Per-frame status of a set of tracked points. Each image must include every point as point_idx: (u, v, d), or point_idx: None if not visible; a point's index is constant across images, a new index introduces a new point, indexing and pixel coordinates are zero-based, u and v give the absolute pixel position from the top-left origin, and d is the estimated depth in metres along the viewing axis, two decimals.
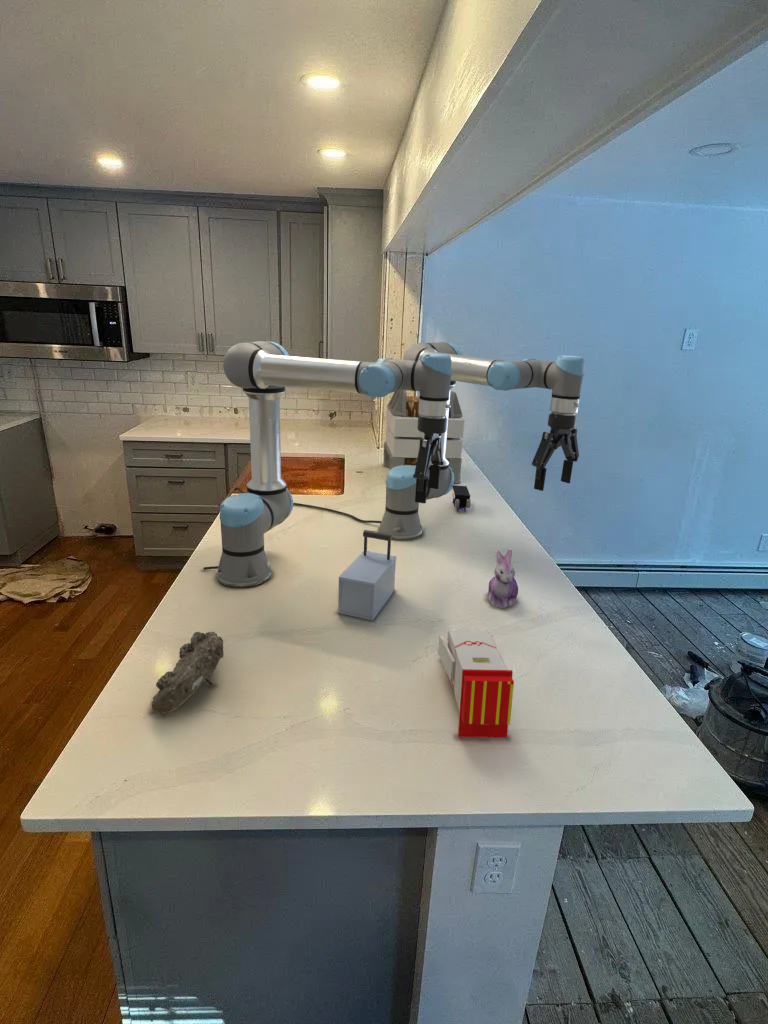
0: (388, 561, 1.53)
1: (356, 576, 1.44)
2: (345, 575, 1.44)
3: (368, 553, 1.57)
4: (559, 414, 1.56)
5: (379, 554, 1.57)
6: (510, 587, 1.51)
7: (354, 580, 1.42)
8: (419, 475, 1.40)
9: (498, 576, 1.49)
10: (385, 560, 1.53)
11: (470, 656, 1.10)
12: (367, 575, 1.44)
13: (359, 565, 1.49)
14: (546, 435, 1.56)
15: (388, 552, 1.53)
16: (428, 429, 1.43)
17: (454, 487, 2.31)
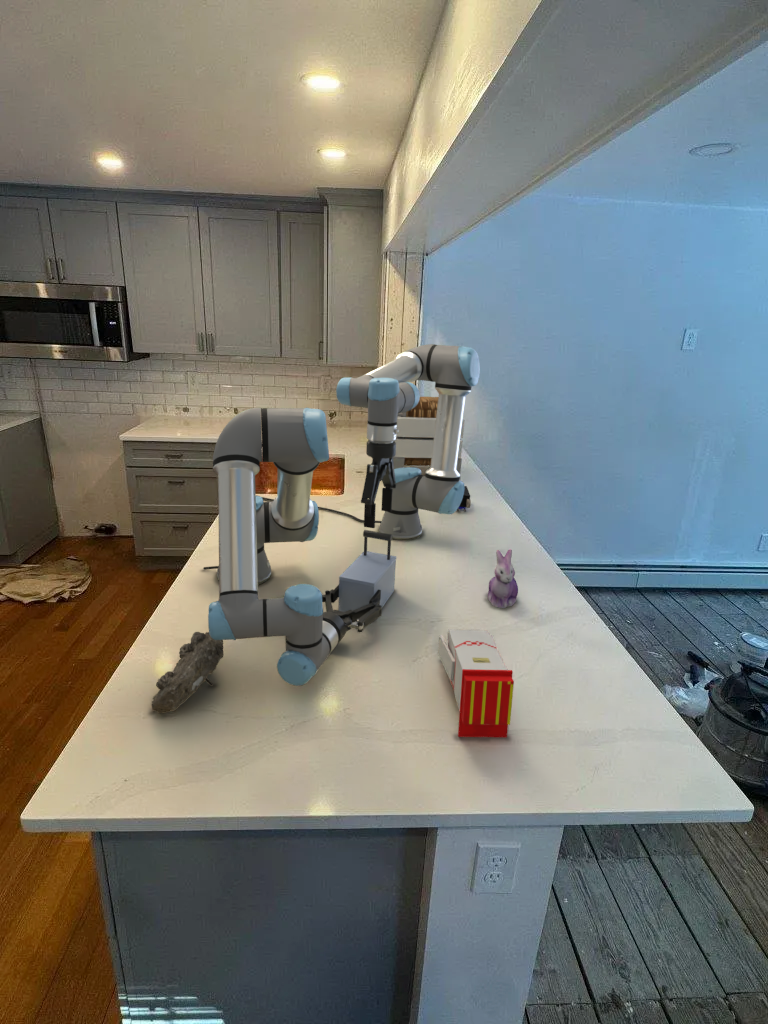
0: (388, 561, 1.53)
1: (356, 576, 1.44)
2: (345, 575, 1.44)
3: (368, 553, 1.57)
4: (380, 443, 1.41)
5: (379, 554, 1.57)
6: (510, 587, 1.51)
7: (354, 580, 1.42)
8: None
9: (498, 576, 1.49)
10: (385, 560, 1.53)
11: (470, 656, 1.10)
12: (367, 575, 1.44)
13: (359, 565, 1.49)
14: (371, 468, 1.40)
15: (388, 552, 1.53)
16: None
17: None
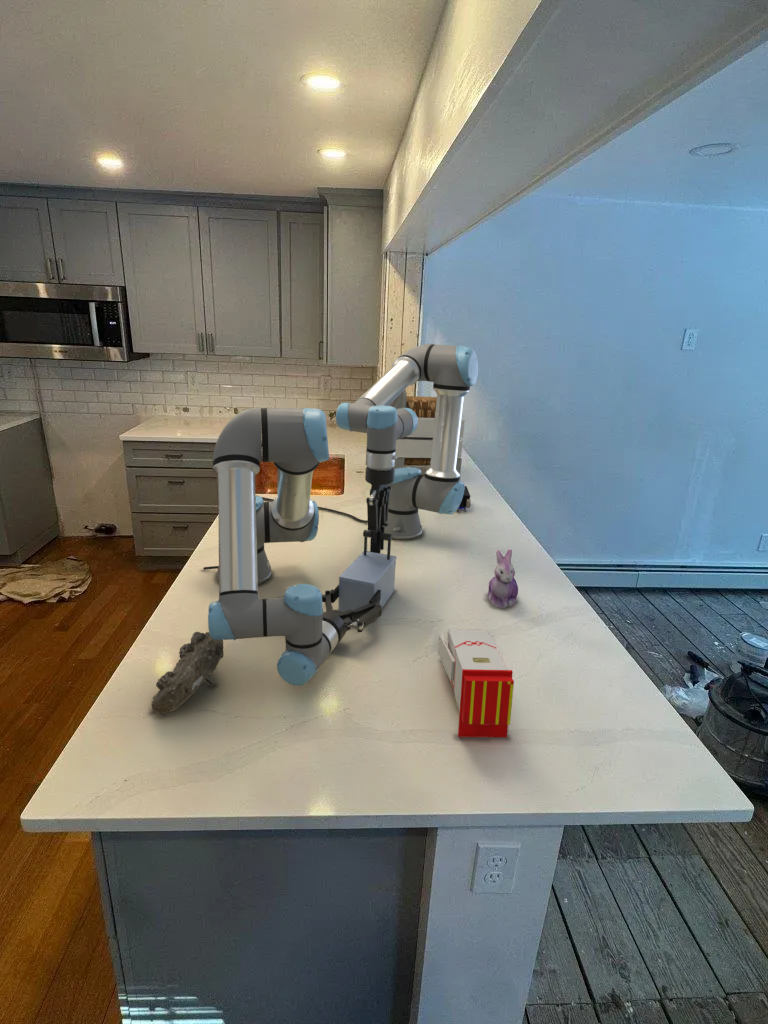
0: (388, 561, 1.53)
1: (356, 576, 1.44)
2: (345, 575, 1.44)
3: (368, 553, 1.57)
4: (379, 470, 1.43)
5: (379, 554, 1.57)
6: (510, 587, 1.51)
7: (354, 580, 1.42)
8: None
9: (498, 576, 1.49)
10: (385, 560, 1.53)
11: (470, 656, 1.10)
12: (367, 575, 1.44)
13: (359, 565, 1.49)
14: (371, 502, 1.43)
15: (388, 552, 1.53)
16: None
17: None
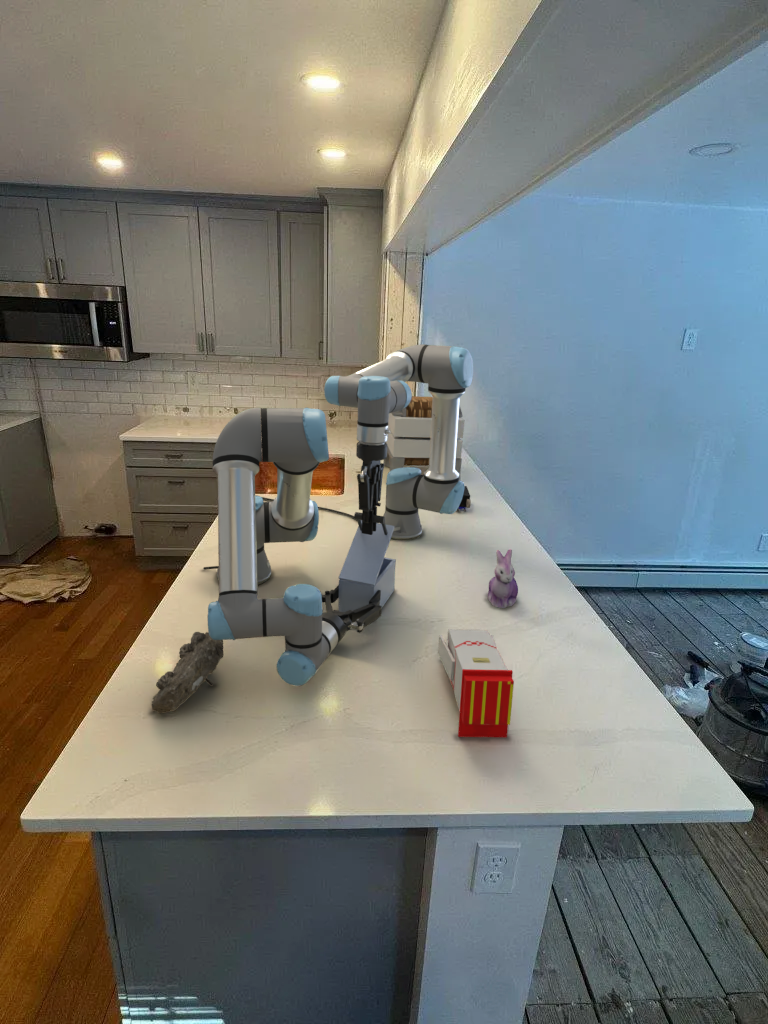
0: (386, 538, 1.47)
1: (355, 574, 1.43)
2: (344, 573, 1.43)
3: None
4: (370, 444, 1.34)
5: (376, 525, 1.50)
6: (510, 587, 1.51)
7: (354, 581, 1.42)
8: None
9: (498, 576, 1.49)
10: (383, 536, 1.48)
11: (470, 656, 1.10)
12: (366, 570, 1.43)
13: (357, 553, 1.46)
14: (362, 479, 1.34)
15: (384, 530, 1.46)
16: None
17: None
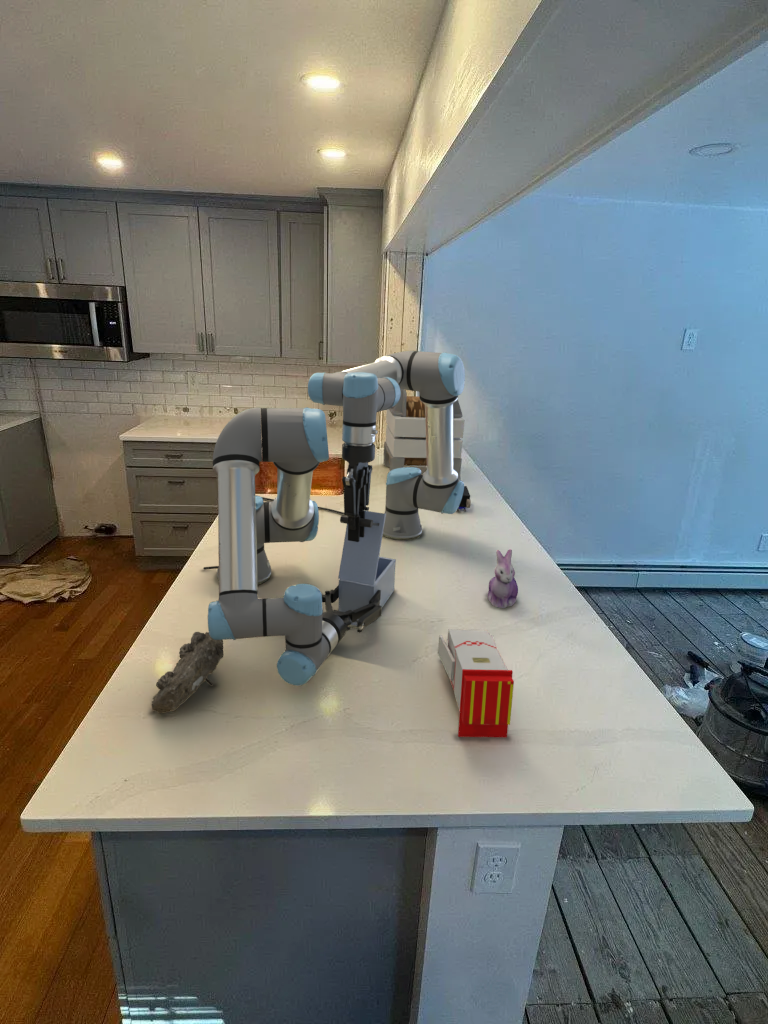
0: (378, 529, 1.40)
1: (353, 574, 1.41)
2: (343, 573, 1.42)
3: None
4: (357, 445, 1.26)
5: (366, 514, 1.41)
6: (510, 587, 1.51)
7: None
8: None
9: (498, 576, 1.49)
10: (375, 528, 1.41)
11: (470, 656, 1.10)
12: (364, 569, 1.41)
13: (352, 549, 1.42)
14: (347, 482, 1.26)
15: (375, 525, 1.38)
16: None
17: None
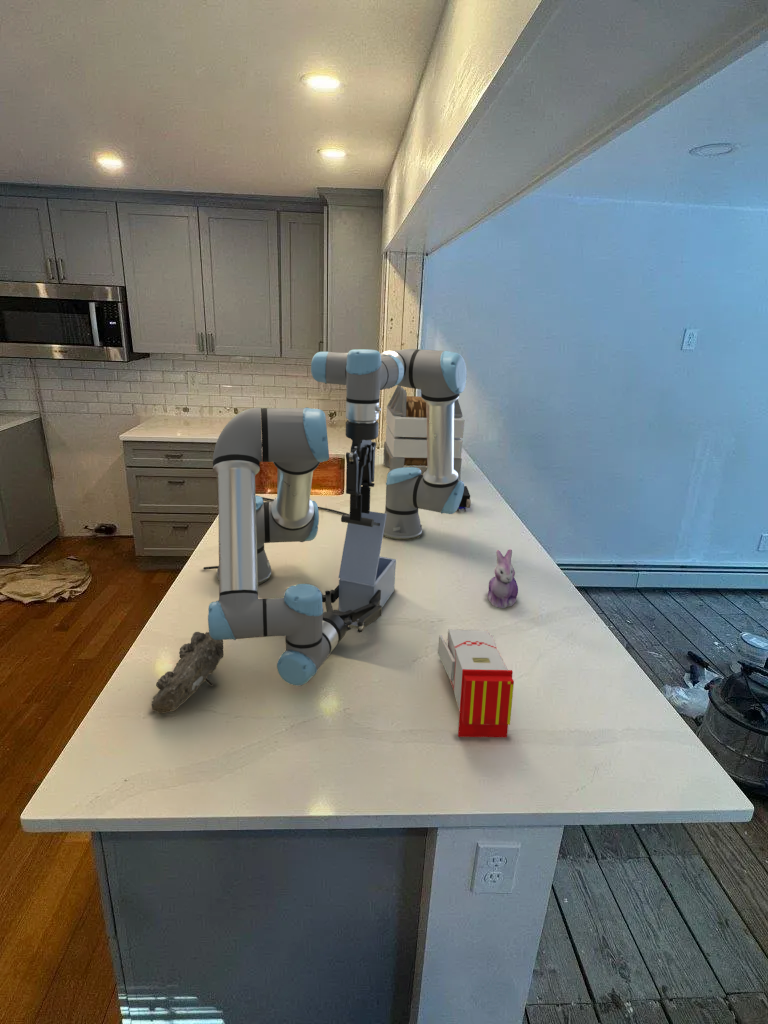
0: (379, 529, 1.41)
1: (354, 573, 1.42)
2: (343, 573, 1.42)
3: None
4: (360, 423, 1.26)
5: (367, 514, 1.42)
6: (510, 587, 1.51)
7: (354, 581, 1.42)
8: None
9: (498, 576, 1.49)
10: (376, 528, 1.41)
11: (470, 656, 1.10)
12: (364, 569, 1.41)
13: (352, 548, 1.42)
14: (351, 458, 1.25)
15: (375, 525, 1.39)
16: None
17: None
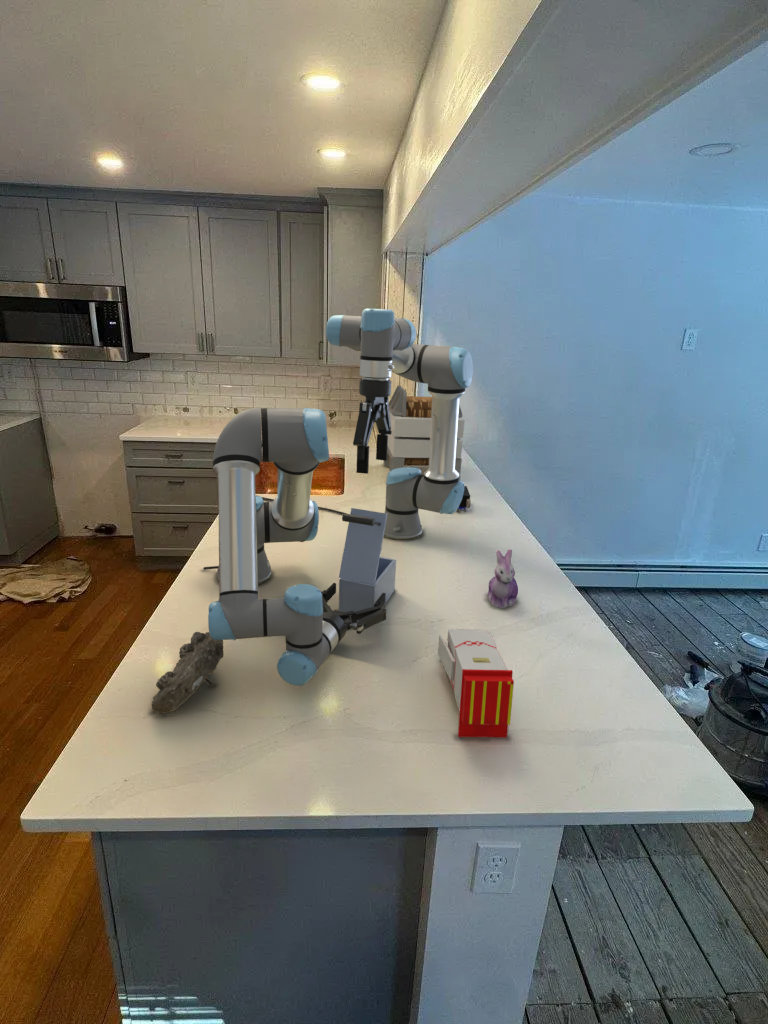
0: (380, 529, 1.41)
1: (354, 573, 1.42)
2: (344, 573, 1.43)
3: (356, 515, 1.43)
4: (374, 379, 1.30)
5: (368, 514, 1.42)
6: (510, 587, 1.51)
7: (354, 580, 1.42)
8: None
9: (498, 576, 1.49)
10: (376, 527, 1.41)
11: (470, 656, 1.10)
12: (364, 568, 1.41)
13: (353, 548, 1.43)
14: (364, 406, 1.29)
15: (376, 524, 1.39)
16: None
17: None
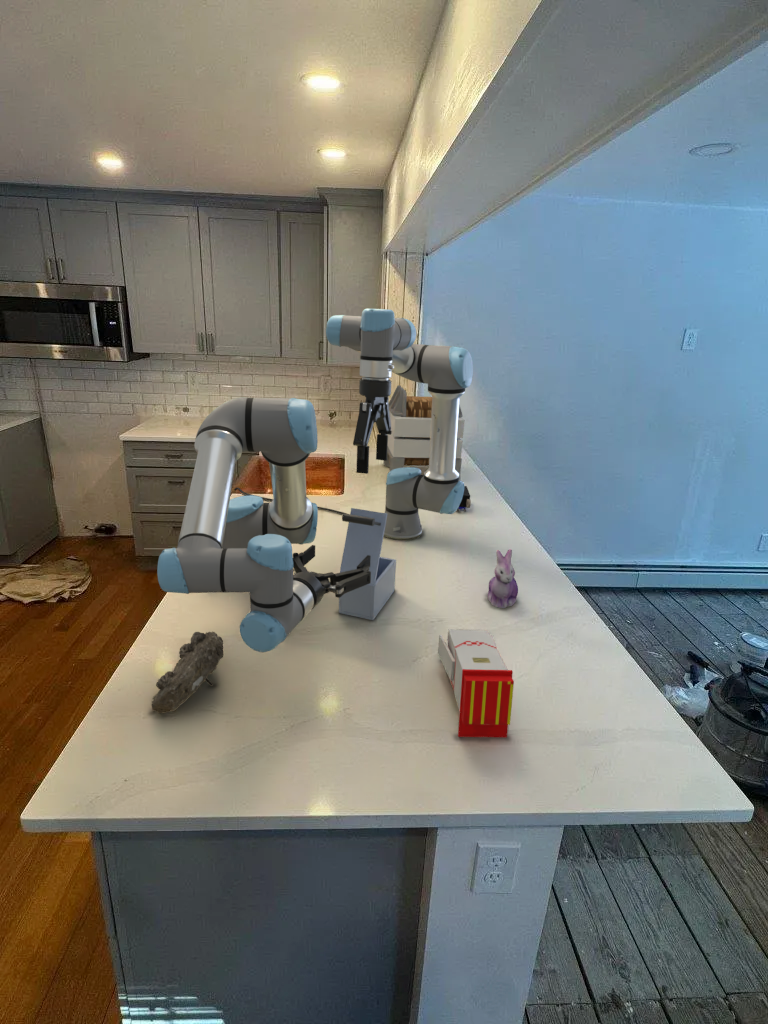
0: (380, 529, 1.41)
1: None
2: None
3: (356, 515, 1.43)
4: (374, 379, 1.30)
5: (368, 514, 1.42)
6: (510, 587, 1.51)
7: None
8: None
9: (498, 576, 1.49)
10: (376, 527, 1.41)
11: (470, 656, 1.10)
12: None
13: (353, 548, 1.43)
14: (364, 406, 1.29)
15: (376, 524, 1.39)
16: None
17: None
